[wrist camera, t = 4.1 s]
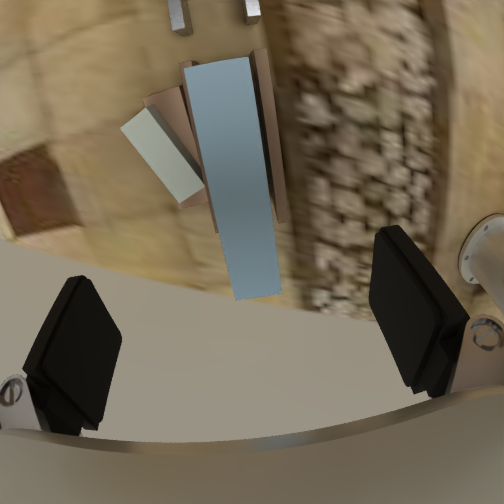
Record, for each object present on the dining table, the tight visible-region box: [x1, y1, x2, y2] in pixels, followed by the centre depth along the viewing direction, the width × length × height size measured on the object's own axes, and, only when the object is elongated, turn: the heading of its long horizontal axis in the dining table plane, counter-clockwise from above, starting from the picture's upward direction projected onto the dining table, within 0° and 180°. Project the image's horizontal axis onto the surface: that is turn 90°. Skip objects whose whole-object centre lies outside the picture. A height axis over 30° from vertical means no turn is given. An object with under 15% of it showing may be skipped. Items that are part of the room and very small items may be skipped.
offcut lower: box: [142, 85, 208, 209], centre depth 29 cm, size 4×12×2 cm, turn 13°
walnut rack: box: [179, 48, 289, 233], centre depth 27 cm, size 7×16×5 cm, turn 9°
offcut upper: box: [120, 104, 205, 203], centre depth 27 cm, size 3×9×2 cm, turn 32°
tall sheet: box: [184, 57, 282, 300], centre depth 23 cm, size 3×14×16 cm, turn 9°
